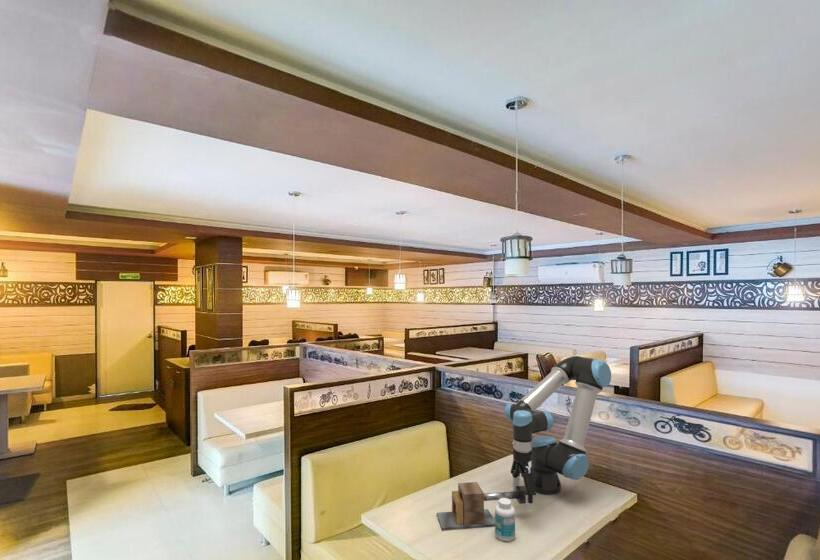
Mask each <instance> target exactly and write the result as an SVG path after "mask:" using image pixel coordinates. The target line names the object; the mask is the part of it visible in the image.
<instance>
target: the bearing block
mask: <svg viewBox="0 0 820 560" xmlns="http://www.w3.org/2000/svg"><path fill="white" fill-rule="evenodd" d="M457 485H458V486H457V489H458V490H457V491H458V492H459V494H460V496H461V499H462V501H463V525H457V524H456V522H455V519H454V517H453V515H452V511H443V512H436V517H437V520H438V523H439V526H440V529H441V531H453V530H455V531H456V530H467V529H468V530H469V529H480V528H495V517H494V516H493V515H492V514H491V512H490V510H489V509H488V508H485V501H484V493H485V492H484V491H483V490H482V488H481V486H480V485H479V483H478V482H477V481H473V482H469V481H468V482H458V484H457Z"/></svg>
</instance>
